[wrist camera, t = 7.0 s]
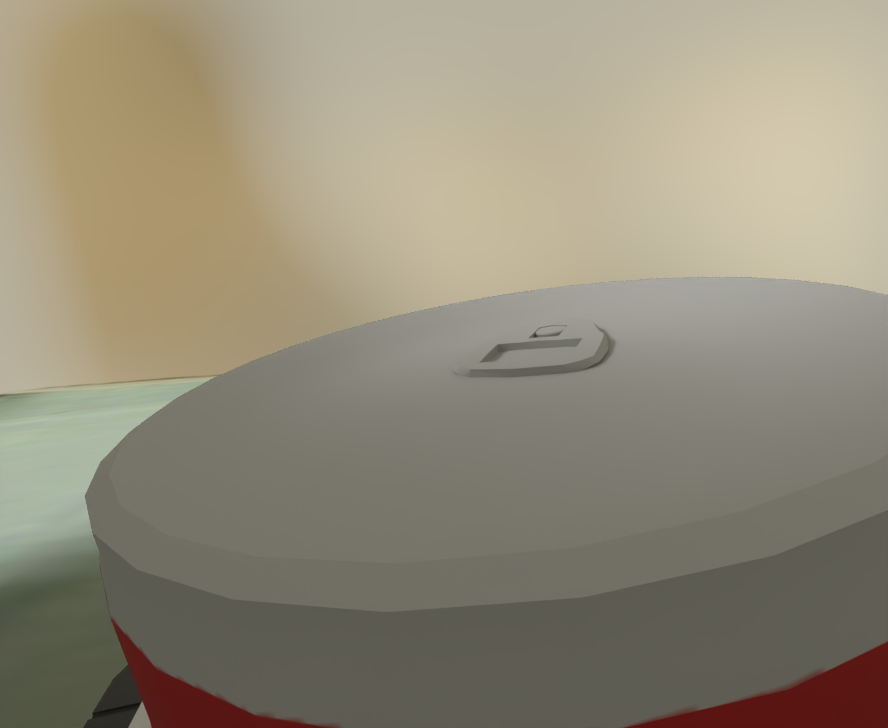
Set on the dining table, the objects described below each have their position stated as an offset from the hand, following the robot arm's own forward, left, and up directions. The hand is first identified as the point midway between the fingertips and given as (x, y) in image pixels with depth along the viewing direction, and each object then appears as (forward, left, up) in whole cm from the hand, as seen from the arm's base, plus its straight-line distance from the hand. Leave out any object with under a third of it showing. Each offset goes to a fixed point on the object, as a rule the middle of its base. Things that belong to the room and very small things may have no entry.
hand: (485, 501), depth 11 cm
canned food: (0, -5, -7) cm, 8 cm away
